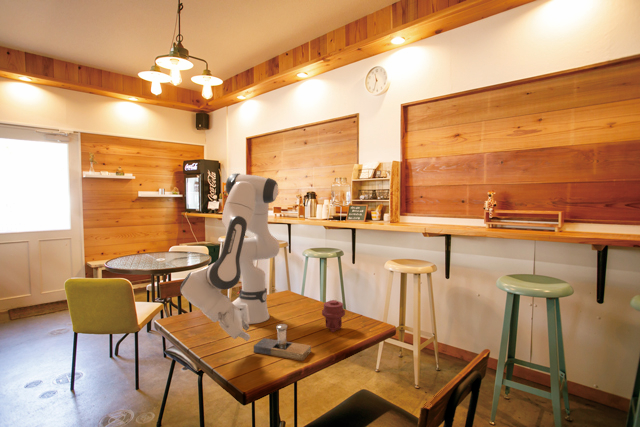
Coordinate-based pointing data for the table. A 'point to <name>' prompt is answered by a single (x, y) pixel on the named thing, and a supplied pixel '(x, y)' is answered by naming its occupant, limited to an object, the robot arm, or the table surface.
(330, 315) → the mechanical component
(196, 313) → the table surface
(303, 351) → the two-tone slotted plate
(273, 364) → the table surface
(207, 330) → the table surface
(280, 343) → the metal peg
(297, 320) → the table surface
